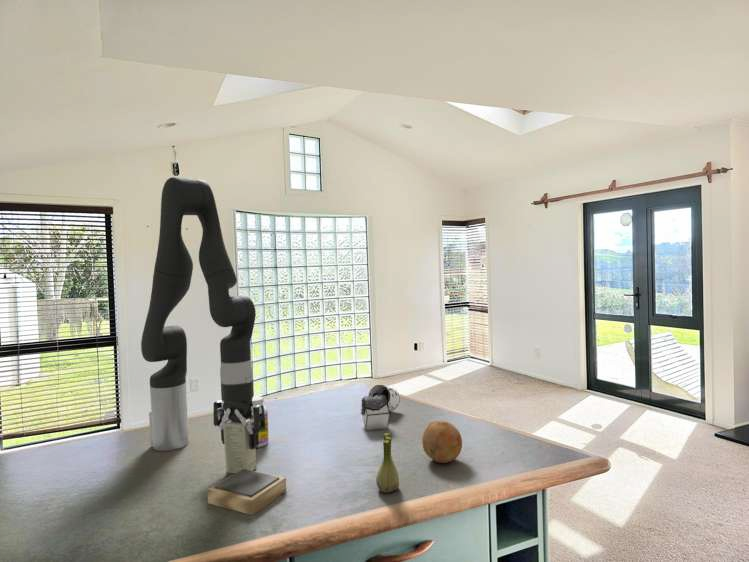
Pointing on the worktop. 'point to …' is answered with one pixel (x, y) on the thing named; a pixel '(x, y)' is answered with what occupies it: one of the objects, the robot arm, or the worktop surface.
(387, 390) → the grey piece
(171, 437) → the robot arm
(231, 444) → the skincare box
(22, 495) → the worktop surface
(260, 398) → the supplement bottle
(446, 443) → the onion
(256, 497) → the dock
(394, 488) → the fennel bulb
